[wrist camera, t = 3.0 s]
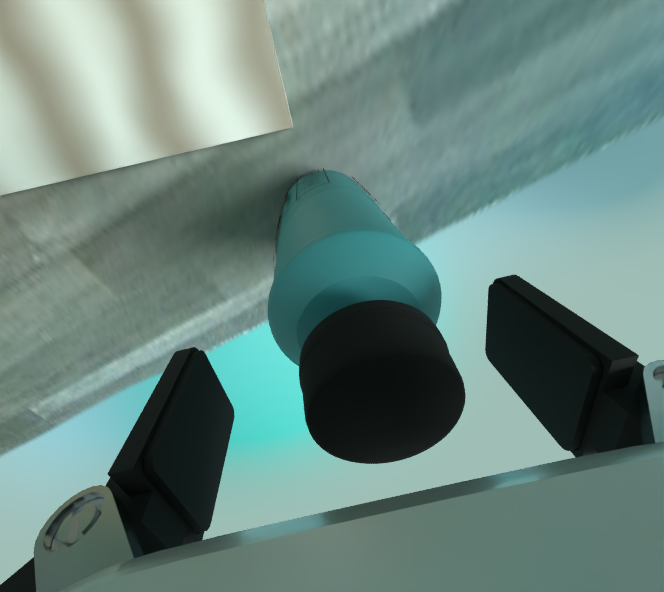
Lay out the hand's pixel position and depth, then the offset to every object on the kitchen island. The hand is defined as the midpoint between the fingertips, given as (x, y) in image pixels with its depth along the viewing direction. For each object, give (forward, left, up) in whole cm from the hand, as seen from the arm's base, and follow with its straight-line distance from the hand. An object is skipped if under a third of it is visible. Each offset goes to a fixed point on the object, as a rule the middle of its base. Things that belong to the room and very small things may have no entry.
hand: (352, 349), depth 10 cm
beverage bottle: (0, 0, -17) cm, 17 cm away
